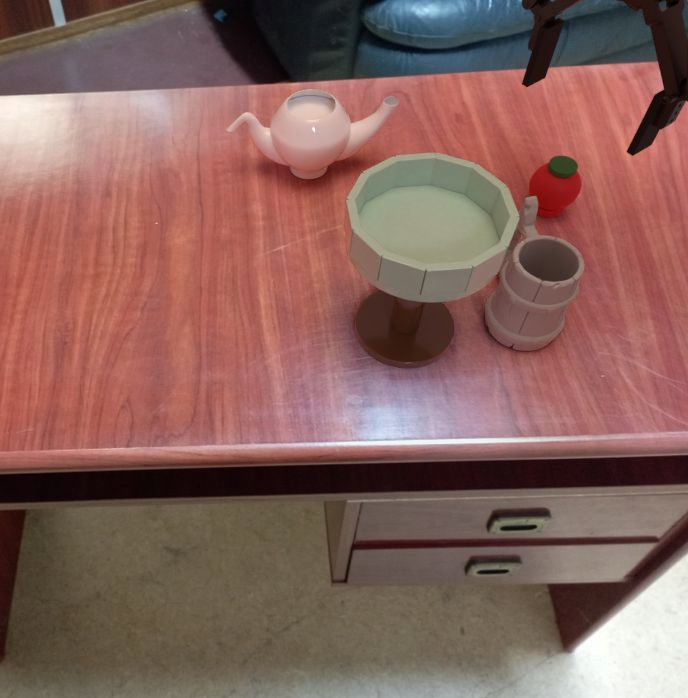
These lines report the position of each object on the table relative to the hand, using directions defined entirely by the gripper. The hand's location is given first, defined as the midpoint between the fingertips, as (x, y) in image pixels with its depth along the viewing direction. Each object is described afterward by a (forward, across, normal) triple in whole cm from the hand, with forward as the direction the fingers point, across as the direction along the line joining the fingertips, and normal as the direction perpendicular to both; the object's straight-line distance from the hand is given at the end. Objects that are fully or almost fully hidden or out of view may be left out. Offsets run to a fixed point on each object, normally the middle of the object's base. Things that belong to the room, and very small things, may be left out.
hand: (583, 113), depth 74 cm
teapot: (+13, -22, -18) cm, 31 cm away
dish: (+13, +4, -25) cm, 28 cm away
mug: (+13, +9, -14) cm, 21 cm away
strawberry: (+13, 0, 0) cm, 13 cm away
